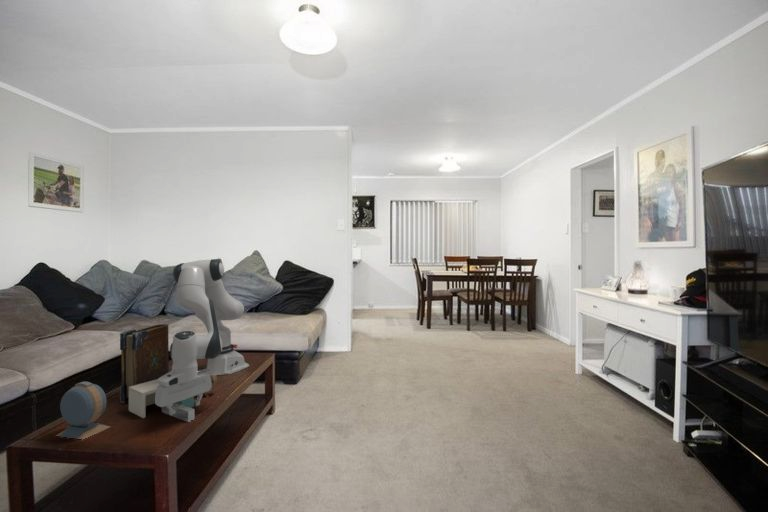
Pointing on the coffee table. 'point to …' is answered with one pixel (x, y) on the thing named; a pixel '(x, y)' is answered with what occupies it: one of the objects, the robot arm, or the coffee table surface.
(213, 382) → the lion figurine
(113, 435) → the coffee table surface
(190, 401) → the cube
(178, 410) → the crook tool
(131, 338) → the decorative book
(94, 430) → the alarm clock
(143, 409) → the block
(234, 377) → the coffee table surface
